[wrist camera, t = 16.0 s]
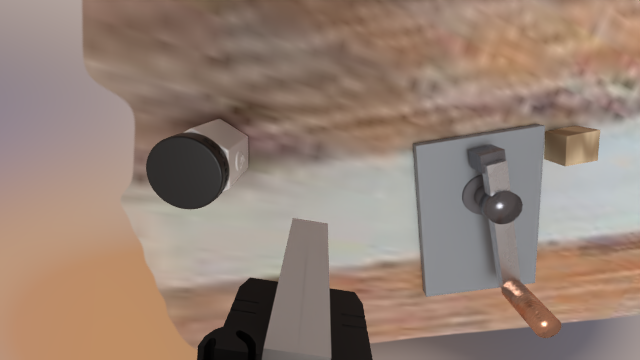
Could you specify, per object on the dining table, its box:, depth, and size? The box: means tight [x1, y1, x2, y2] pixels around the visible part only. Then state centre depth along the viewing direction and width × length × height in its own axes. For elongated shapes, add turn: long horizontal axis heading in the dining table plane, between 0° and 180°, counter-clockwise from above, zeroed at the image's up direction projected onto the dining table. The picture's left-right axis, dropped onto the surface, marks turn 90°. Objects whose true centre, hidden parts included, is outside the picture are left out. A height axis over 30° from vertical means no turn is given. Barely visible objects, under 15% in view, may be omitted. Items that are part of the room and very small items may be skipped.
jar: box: [146, 119, 249, 209], centre depth 37 cm, size 9×8×12 cm
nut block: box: [544, 126, 600, 166], centre depth 40 cm, size 4×4×4 cm
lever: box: [468, 144, 561, 338], centre depth 38 cm, size 22×4×11 cm, turn 17°
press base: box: [413, 124, 545, 297], centre depth 43 cm, size 25×17×4 cm
